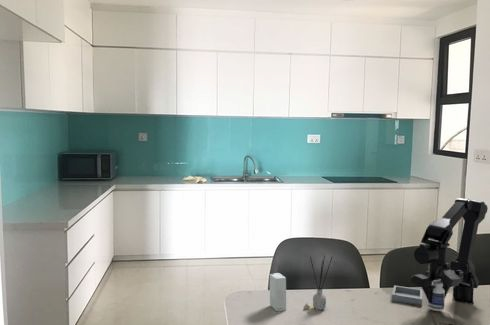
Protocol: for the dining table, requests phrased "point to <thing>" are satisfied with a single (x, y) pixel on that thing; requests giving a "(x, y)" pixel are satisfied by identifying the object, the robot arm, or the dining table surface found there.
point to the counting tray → (407, 295)
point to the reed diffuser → (319, 292)
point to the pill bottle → (437, 297)
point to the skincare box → (278, 292)
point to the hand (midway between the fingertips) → (436, 301)
